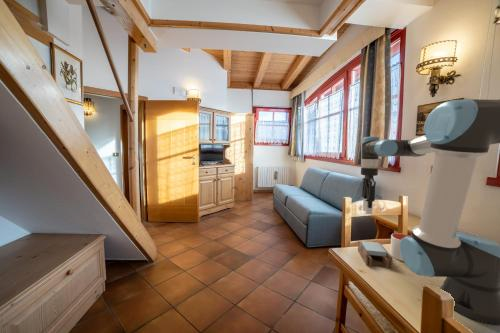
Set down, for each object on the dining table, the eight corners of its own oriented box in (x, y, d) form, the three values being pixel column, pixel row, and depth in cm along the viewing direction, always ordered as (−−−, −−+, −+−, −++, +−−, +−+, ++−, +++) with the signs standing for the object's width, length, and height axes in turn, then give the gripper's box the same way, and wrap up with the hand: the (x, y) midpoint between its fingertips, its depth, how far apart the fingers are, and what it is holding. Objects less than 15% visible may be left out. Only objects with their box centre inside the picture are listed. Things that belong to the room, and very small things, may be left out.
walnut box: (391, 269, 90) (392, 257, 89) (366, 265, 92) (366, 254, 92) (380, 253, 103) (380, 243, 103) (357, 251, 106) (358, 241, 105)
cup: (422, 263, 94) (423, 242, 93) (399, 263, 94) (400, 241, 93) (405, 252, 104) (407, 233, 103) (385, 252, 104) (386, 233, 103)
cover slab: (386, 256, 93) (386, 252, 93) (366, 254, 95) (366, 250, 95) (378, 246, 103) (378, 242, 102) (360, 244, 105) (360, 240, 104)
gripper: (384, 169, 97) (381, 218, 99) (372, 166, 114) (369, 208, 116) (366, 168, 99) (364, 217, 101) (356, 166, 116) (355, 207, 118)
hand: (367, 212), depth 108 cm, fingers open, 4 cm apart
